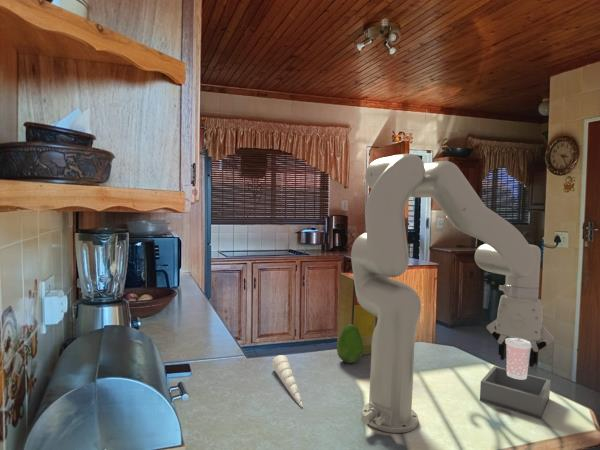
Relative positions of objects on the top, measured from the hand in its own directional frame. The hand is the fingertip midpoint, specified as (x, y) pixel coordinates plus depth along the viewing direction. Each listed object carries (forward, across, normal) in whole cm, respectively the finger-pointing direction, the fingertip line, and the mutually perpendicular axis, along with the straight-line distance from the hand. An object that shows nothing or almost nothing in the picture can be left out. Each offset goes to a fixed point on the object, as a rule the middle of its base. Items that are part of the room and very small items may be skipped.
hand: (517, 361), depth 105 cm
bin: (+10, 0, 0) cm, 10 cm away
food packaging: (+10, -50, +4) cm, 51 cm away
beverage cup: (+4, 0, 0) cm, 4 cm away
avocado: (+10, -45, -8) cm, 47 cm away
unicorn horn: (+10, -48, -33) cm, 59 cm away
